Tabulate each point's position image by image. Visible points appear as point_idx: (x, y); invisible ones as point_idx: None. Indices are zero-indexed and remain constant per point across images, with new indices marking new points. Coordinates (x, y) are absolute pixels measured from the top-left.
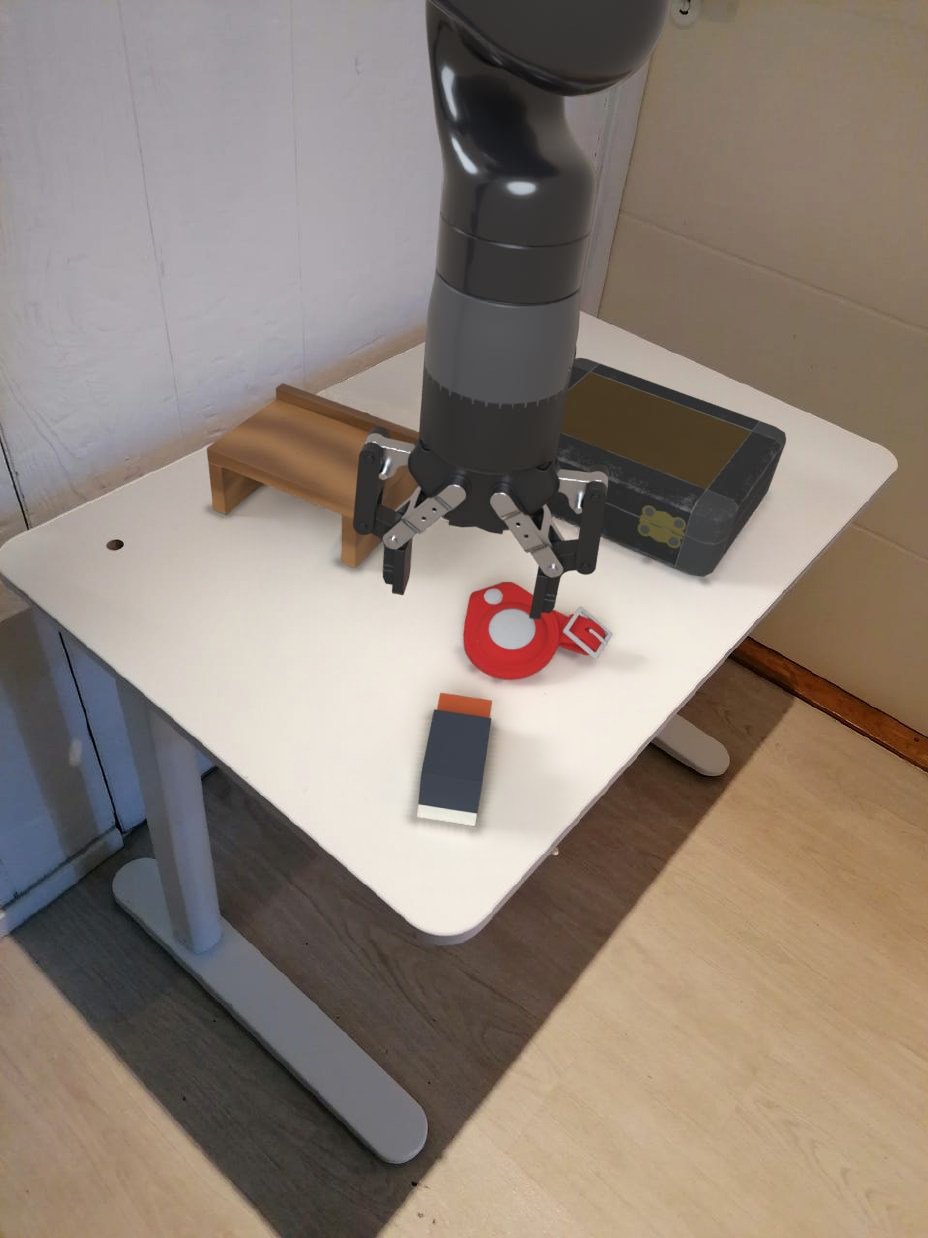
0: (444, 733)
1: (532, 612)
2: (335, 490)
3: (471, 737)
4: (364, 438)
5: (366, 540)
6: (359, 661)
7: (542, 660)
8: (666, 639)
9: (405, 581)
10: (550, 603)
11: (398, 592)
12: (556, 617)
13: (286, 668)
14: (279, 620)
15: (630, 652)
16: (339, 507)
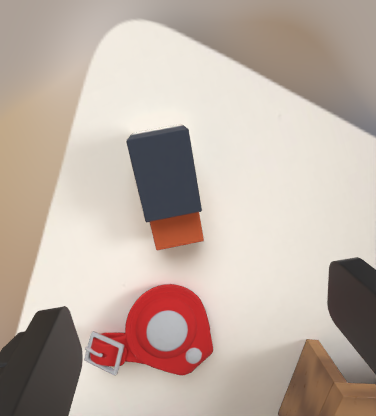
0: (182, 186)
1: (50, 319)
2: (365, 405)
3: (156, 192)
4: None
5: (310, 366)
6: (276, 257)
7: (133, 312)
8: None
9: (345, 290)
10: (8, 356)
11: (347, 260)
12: (135, 356)
13: (330, 228)
14: None
15: None
16: (354, 389)
